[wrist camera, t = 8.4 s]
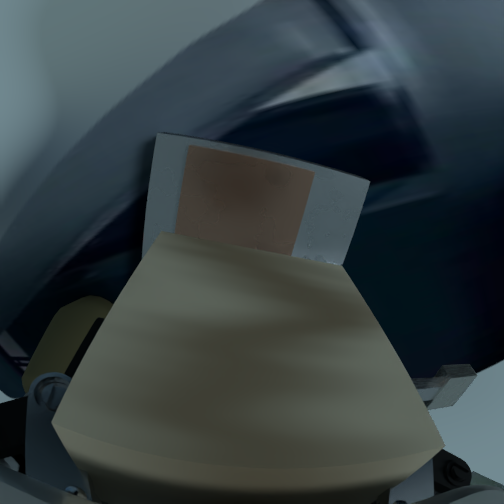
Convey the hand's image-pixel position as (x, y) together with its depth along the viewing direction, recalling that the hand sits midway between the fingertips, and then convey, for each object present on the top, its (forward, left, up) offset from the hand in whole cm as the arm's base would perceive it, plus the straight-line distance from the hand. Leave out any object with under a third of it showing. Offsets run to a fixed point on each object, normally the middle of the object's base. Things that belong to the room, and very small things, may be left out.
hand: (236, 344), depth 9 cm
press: (-1, +2, -16) cm, 16 cm away
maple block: (0, 0, -1) cm, 1 cm away
